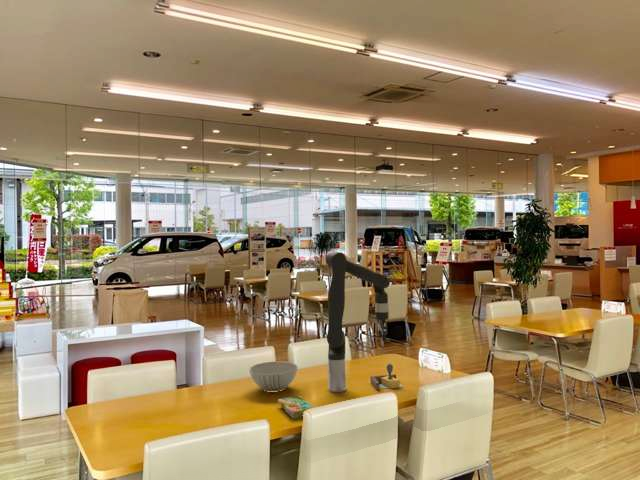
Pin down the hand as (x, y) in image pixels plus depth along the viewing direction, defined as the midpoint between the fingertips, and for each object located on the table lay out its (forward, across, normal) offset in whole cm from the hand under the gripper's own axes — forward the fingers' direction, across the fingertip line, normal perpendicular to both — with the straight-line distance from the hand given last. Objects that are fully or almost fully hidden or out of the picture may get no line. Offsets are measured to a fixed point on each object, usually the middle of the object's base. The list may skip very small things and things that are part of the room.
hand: (382, 339), depth 286 cm
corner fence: (+24, -8, 0) cm, 26 cm away
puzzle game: (+25, -36, +52) cm, 69 cm away
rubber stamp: (+24, -8, -2) cm, 26 cm away
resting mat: (+24, -8, -2) cm, 26 cm away
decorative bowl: (+25, 0, +62) cm, 67 cm away
